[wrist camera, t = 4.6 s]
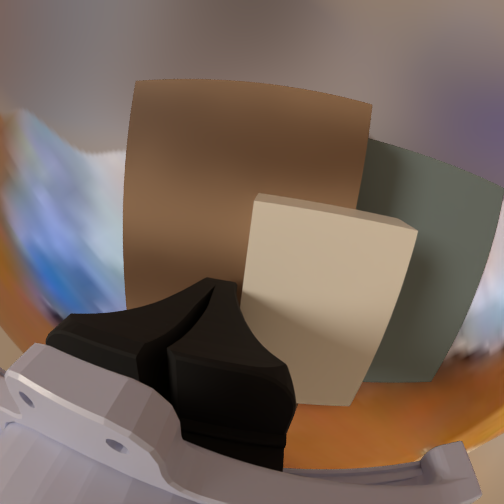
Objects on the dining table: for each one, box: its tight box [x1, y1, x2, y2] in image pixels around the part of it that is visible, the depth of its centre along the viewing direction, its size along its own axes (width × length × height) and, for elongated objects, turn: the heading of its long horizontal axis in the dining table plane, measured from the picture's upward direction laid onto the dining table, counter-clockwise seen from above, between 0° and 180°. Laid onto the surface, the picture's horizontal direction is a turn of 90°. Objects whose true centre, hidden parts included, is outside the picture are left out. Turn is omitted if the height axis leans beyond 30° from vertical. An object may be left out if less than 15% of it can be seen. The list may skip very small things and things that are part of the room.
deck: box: [123, 79, 372, 411], centre depth 15 cm, size 18×10×4 cm, turn 172°
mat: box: [356, 139, 504, 382], centre depth 16 cm, size 16×12×1 cm
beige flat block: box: [240, 193, 418, 406], centre depth 12 cm, size 9×6×2 cm, turn 173°
